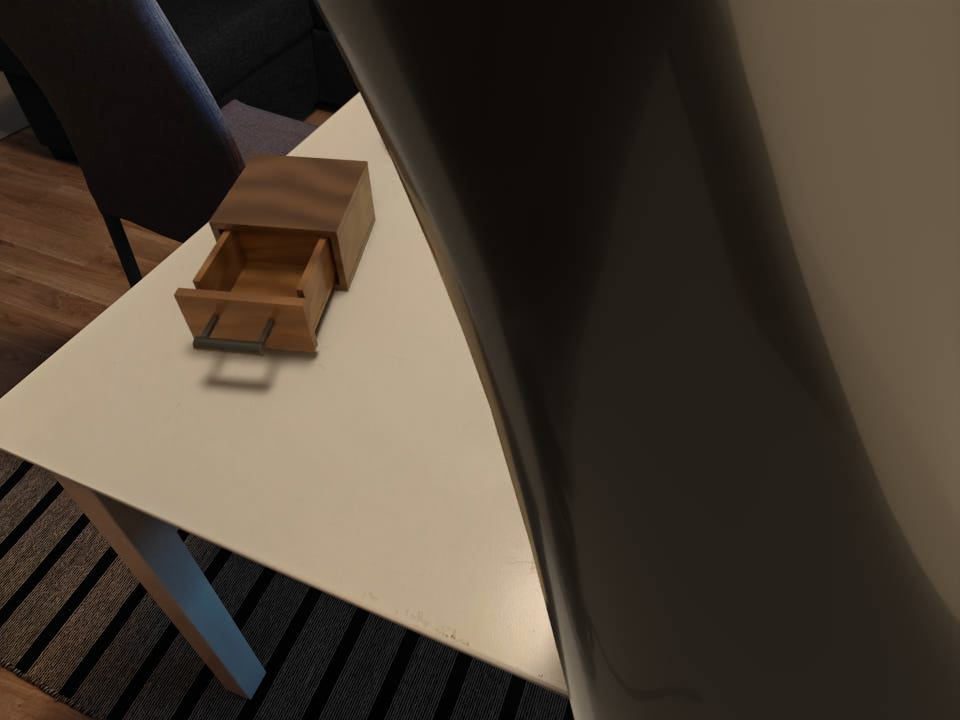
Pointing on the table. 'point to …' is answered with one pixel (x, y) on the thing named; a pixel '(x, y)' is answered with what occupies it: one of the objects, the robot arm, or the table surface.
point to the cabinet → (304, 204)
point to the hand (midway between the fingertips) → (641, 568)
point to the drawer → (259, 293)
